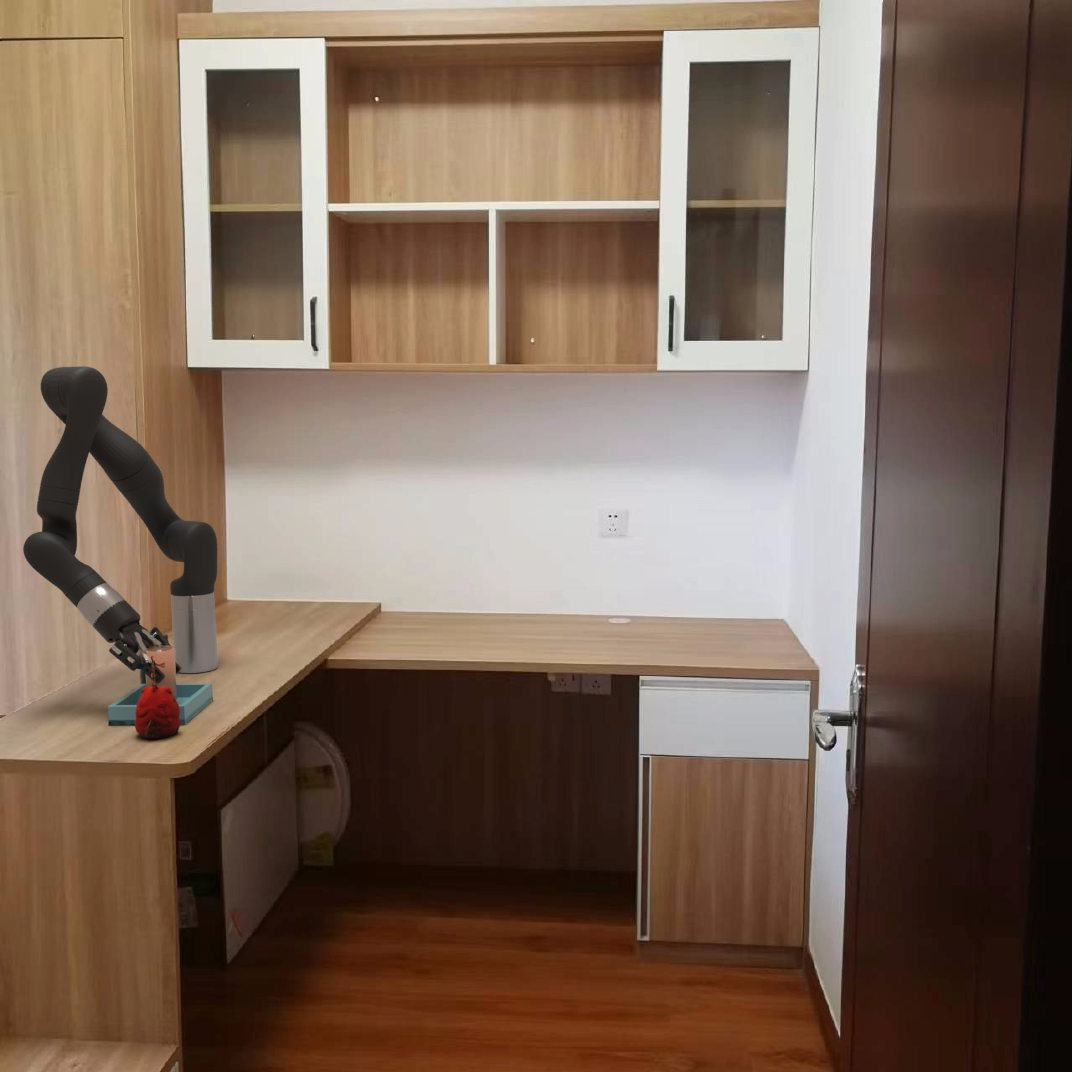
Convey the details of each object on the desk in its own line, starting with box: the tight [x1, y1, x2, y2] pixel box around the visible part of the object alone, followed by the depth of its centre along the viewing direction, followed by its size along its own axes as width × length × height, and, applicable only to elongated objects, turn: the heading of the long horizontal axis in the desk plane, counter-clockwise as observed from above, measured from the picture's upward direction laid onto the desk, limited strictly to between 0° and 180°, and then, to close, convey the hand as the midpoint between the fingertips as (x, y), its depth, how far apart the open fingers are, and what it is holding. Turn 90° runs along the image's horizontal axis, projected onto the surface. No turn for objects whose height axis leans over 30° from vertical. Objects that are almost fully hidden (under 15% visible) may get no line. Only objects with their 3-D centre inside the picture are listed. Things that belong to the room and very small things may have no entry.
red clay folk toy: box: [134, 656, 181, 740], centre depth 178 cm, size 8×7×15 cm
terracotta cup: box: [146, 645, 178, 700], centre depth 192 cm, size 5×5×10 cm
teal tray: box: [107, 682, 214, 726], centre depth 192 cm, size 16×14×4 cm
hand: (169, 676), depth 191 cm, fingers closed on terracotta cup, 5 cm apart
